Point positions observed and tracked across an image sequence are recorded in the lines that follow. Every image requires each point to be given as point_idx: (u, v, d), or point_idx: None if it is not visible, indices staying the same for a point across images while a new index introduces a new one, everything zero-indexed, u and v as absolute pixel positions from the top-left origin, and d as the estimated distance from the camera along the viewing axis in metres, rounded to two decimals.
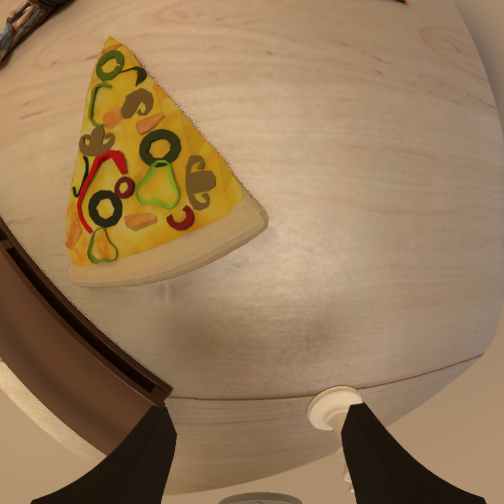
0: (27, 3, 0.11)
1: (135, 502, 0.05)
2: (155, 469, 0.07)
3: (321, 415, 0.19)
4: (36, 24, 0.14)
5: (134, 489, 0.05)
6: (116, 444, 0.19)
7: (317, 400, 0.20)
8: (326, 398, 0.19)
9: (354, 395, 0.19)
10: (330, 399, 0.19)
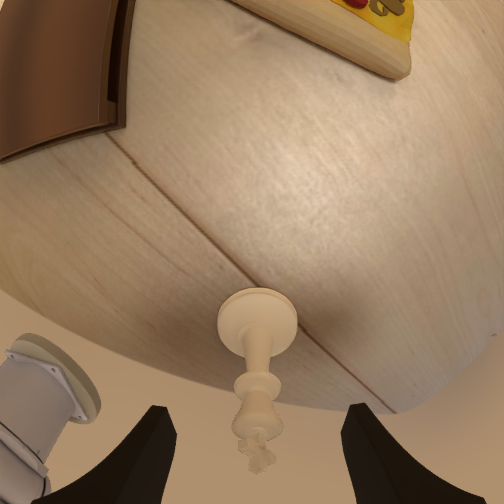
0: None
1: (135, 502, 0.05)
2: (155, 469, 0.07)
3: (243, 315, 0.15)
4: None
5: (134, 489, 0.05)
6: None
7: (256, 292, 0.16)
8: (269, 299, 0.15)
9: (295, 326, 0.16)
10: (272, 304, 0.15)
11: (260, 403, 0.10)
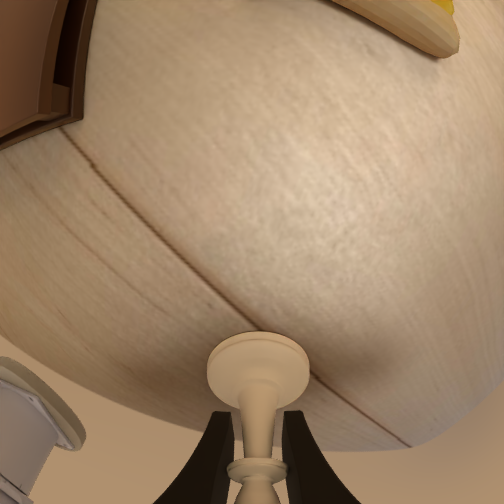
0: None
1: None
2: (224, 478, 0.07)
3: (239, 368, 0.11)
4: None
5: (215, 503, 0.05)
6: None
7: (257, 339, 0.11)
8: (274, 348, 0.11)
9: (306, 378, 0.12)
10: (278, 355, 0.11)
11: (261, 502, 0.05)
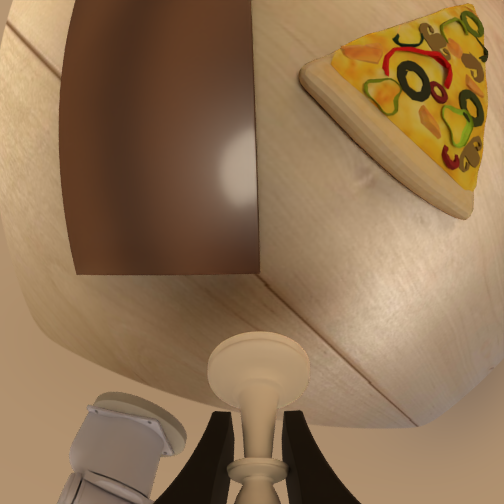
0: None
1: None
2: (224, 478, 0.07)
3: (240, 368, 0.11)
4: None
5: (215, 503, 0.05)
6: (115, 263, 0.15)
7: (257, 338, 0.11)
8: (274, 348, 0.11)
9: (307, 378, 0.12)
10: (278, 355, 0.11)
11: (261, 502, 0.05)
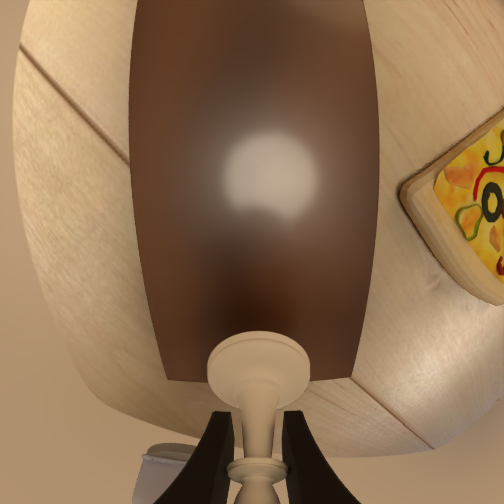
0: None
1: None
2: (224, 478, 0.07)
3: (240, 368, 0.11)
4: None
5: (215, 503, 0.05)
6: None
7: (257, 338, 0.11)
8: (274, 348, 0.11)
9: (307, 378, 0.12)
10: (278, 355, 0.11)
11: (260, 502, 0.05)
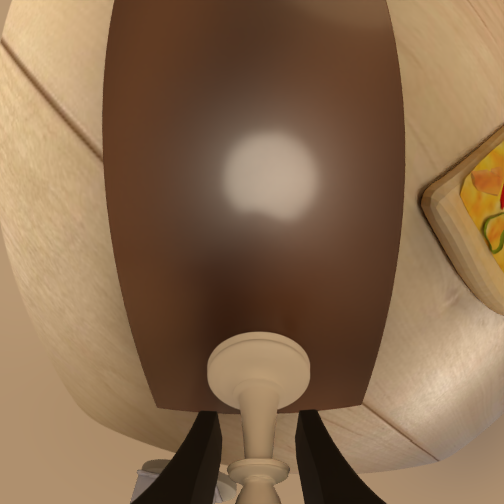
0: None
1: None
2: (209, 477, 0.07)
3: (240, 368, 0.11)
4: None
5: (197, 501, 0.05)
6: (212, 405, 0.13)
7: (257, 339, 0.11)
8: (275, 348, 0.11)
9: (307, 378, 0.12)
10: (278, 355, 0.11)
11: (262, 503, 0.05)
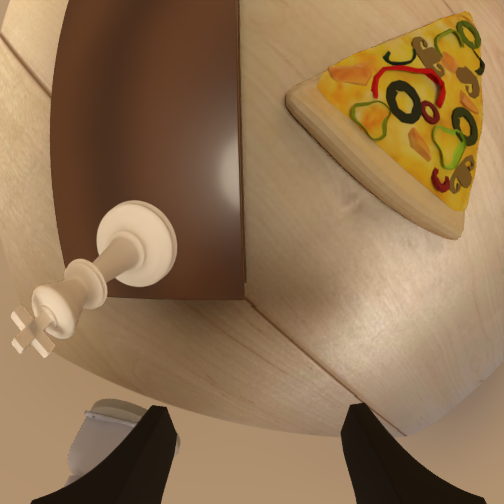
0: None
1: (135, 502, 0.05)
2: (155, 469, 0.07)
3: (113, 227, 0.13)
4: None
5: (134, 489, 0.05)
6: (108, 286, 0.16)
7: (127, 203, 0.14)
8: (137, 209, 0.13)
9: (168, 243, 0.14)
10: (140, 214, 0.13)
11: (60, 283, 0.08)
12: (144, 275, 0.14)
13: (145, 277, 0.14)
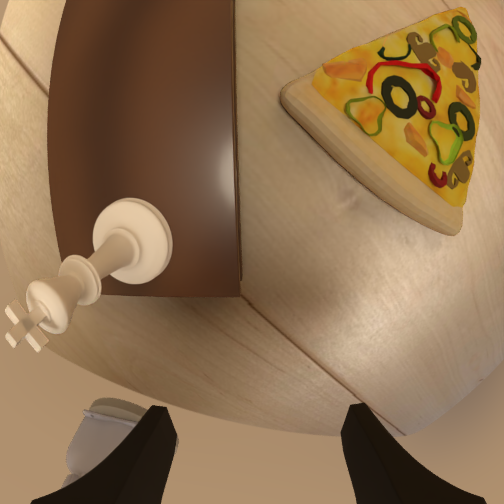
0: None
1: (135, 502, 0.05)
2: (155, 469, 0.07)
3: (109, 225, 0.13)
4: None
5: (134, 489, 0.05)
6: (105, 284, 0.16)
7: (123, 201, 0.14)
8: (133, 206, 0.13)
9: (163, 240, 0.14)
10: (135, 211, 0.13)
11: (54, 278, 0.08)
12: (140, 272, 0.14)
13: (141, 275, 0.14)
